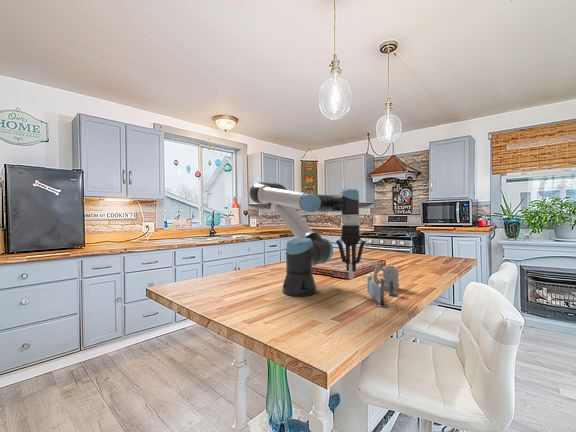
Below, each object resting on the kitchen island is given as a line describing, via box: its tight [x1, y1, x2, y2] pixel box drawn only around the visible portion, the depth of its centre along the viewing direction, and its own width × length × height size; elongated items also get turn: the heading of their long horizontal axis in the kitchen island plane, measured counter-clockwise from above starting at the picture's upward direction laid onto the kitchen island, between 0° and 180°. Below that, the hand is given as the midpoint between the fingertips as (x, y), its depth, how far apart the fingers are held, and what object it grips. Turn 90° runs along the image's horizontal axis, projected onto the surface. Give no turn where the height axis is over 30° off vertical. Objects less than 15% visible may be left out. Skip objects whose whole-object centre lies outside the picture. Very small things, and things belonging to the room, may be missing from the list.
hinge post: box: [376, 278, 389, 309], centre depth 104 cm, size 4×4×10 cm
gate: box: [366, 274, 381, 304], centre depth 113 cm, size 16×2×7 cm, turn 0°
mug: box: [372, 262, 400, 291], centre depth 128 cm, size 8×12×12 cm, turn 87°
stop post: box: [388, 280, 399, 298], centre depth 118 cm, size 3×4×6 cm
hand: (351, 278), depth 122 cm, fingers closed
